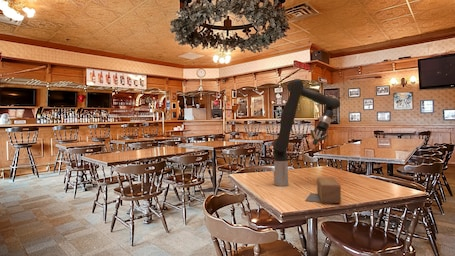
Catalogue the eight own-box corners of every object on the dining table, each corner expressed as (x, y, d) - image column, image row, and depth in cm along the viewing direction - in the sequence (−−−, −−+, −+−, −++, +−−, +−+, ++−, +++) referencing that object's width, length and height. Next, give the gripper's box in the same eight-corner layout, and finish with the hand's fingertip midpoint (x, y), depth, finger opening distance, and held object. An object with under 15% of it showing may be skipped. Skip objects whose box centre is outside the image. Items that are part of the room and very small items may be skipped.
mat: (305, 201, 149) (305, 200, 149) (310, 193, 164) (310, 192, 164) (332, 204, 143) (332, 203, 143) (335, 196, 158) (335, 195, 158)
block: (334, 193, 161) (341, 203, 142) (317, 193, 163) (321, 202, 144) (334, 177, 161) (340, 184, 142) (316, 176, 163) (321, 184, 144)
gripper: (314, 118, 189) (304, 139, 184) (333, 123, 182) (323, 145, 177) (315, 123, 195) (305, 143, 190) (333, 128, 188) (324, 150, 183)
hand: (314, 144), depth 183 cm, fingers closed
